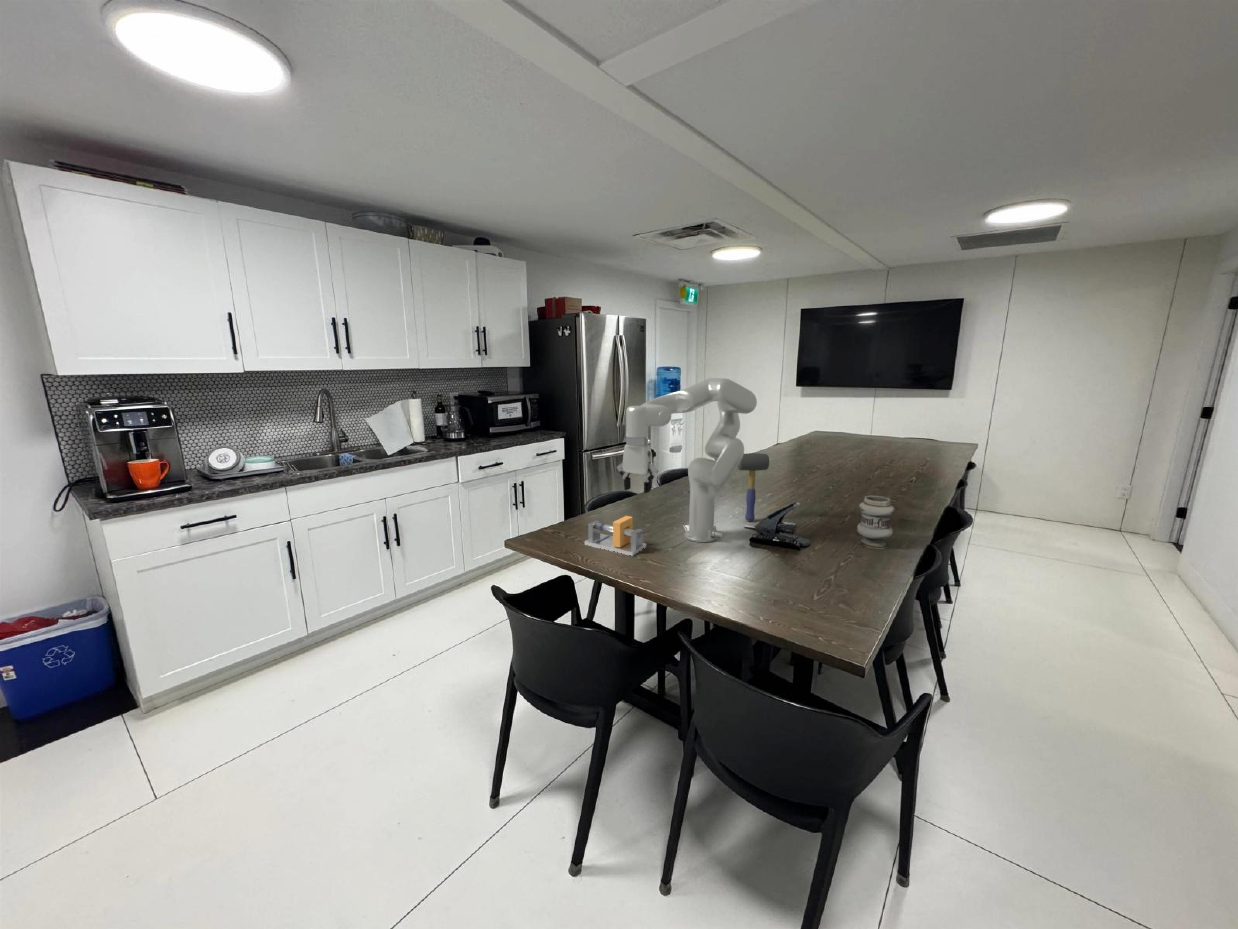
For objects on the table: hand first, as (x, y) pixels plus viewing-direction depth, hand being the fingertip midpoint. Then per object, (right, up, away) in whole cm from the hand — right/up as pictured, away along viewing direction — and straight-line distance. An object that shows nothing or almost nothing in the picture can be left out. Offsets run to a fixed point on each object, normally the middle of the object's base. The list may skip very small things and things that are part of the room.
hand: (637, 490), depth 170 cm
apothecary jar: (+89, -21, +10) cm, 92 cm away
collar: (-5, -20, +7) cm, 22 cm away
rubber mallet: (+50, -16, +38) cm, 65 cm away
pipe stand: (-8, -21, +9) cm, 25 cm away
